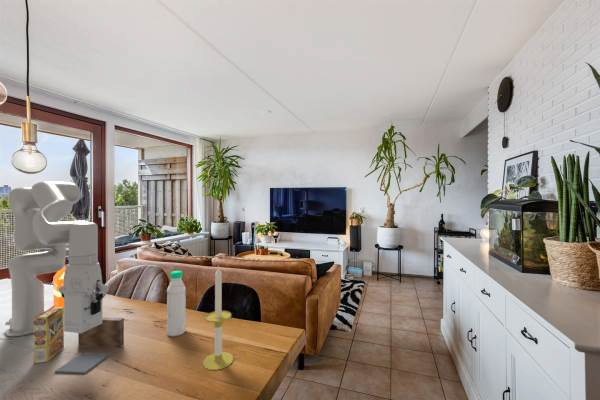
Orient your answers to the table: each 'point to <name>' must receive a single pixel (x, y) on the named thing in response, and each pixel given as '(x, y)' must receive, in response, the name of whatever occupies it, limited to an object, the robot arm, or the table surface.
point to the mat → (82, 363)
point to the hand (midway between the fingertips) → (83, 312)
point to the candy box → (48, 334)
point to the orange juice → (56, 285)
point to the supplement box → (79, 312)
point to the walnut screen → (104, 334)
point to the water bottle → (176, 305)
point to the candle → (218, 329)
